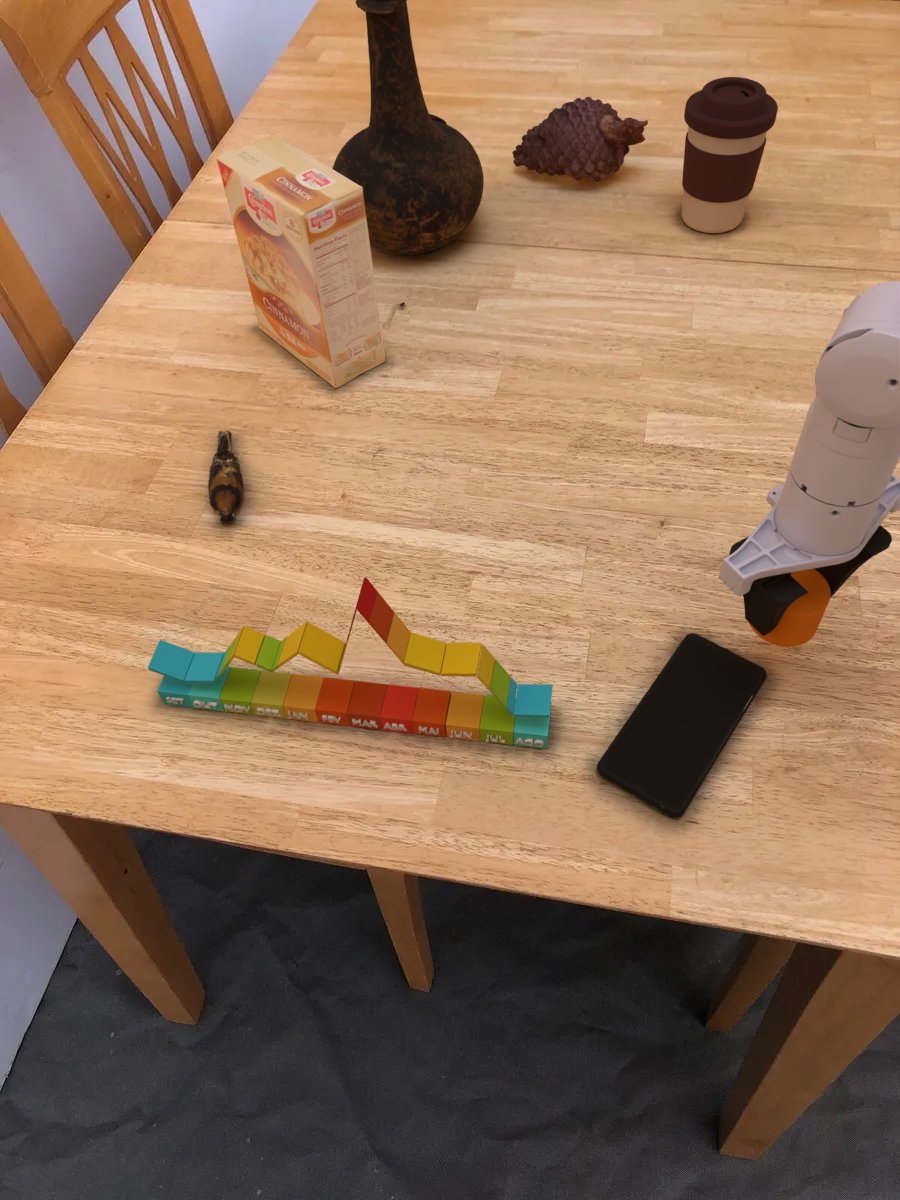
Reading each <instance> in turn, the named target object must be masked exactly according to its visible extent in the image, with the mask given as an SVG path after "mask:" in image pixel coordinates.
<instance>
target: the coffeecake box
mask: <svg viewBox="0 0 900 1200" xmlns="http://www.w3.org/2000/svg"><path fill="white" fill-rule="evenodd" d="M215 158H216V162H217V165H218V169H219V173H220V177H221V181H222V184H223V189H224V193H225V197H226V200H227V205H228V208H229V212H230V216H231V220H232V225H233V228H234V232H235V236H236V240H237V244H238V247H239V251H240V254H241V259H242V264H243V267H244V270H245V271H244V272H245V274H246V280H247V282H248V286H249V290H250V294H251V298H252V302H253V306H254V310H255V313H256V318H257V322H258V328H259V329H260V330H261V331H262V332H263V333H264V334H266V335H267V336H268V337H270V338H271V339H272V340H274V341H275V342H276V343H277V344H278V345H280V346H281V347H282V348H283V349H285V350H286V351H288V352H289V353H290V354H291V355H292V356H294V357H295V358H296V359H297V360H299V361H300V362H302V364H304V365H305V366H306V367H308V368H309V369H310V370H311V371H313V372H314V373H315V374H317V375H318V376H319V377H320V378H322V379H323V380H324V381H326V382H327V383H328V384H329V385H331V386H332V387H333V388H334V389H338V388H339V387H342V386H343V385H345V384H347V383H348V382H350V381H352V380H354V379H355V378H358V376H360V375H362V374H364V373H366V372H368V371H370V370H373V369H374V368H376V367H378V366H379V365H381V364H383V363H385V362H386V354H385V347H384V340H383V332H382V325H381V316H380V310H379V309H380V308H379V302H378V301H379V300H378V295H377V287H376V279H375V272H374V264H373V257H372V249H371V246H370V241H369V234H368V226H367V219H366V212H365V204H364V196H363V188H362V186H359V185H358V184H356V183H354V182H353V181H351V180H349V179H348V178H346V177H345V176H343V175H341V174H340V173H338V172H336V171H335V170H333V168H332V167H330V166H329V165H326V164H325V163H323V162H322V161H320V160H318V159H317V158H315V157H313V156H311V155H310V154H309V153H306V152H305V151H303V150H302V149H300V148H298V147H297V146H295V145H293V144H292V143H290V142H288V141H287V140H285V139H283V138H282V137H280V136H279V135H276V134H275V133H272V134H270V135H268V136H265V137H262V138H260V139H258V140H255V141H253V142H251V143H248V144H246V145H243V146H240V147H235V148H233V149H231V150H228V151H226V152H224V153H222V154H219V155H218V156H217V157H215Z"/></svg>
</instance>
